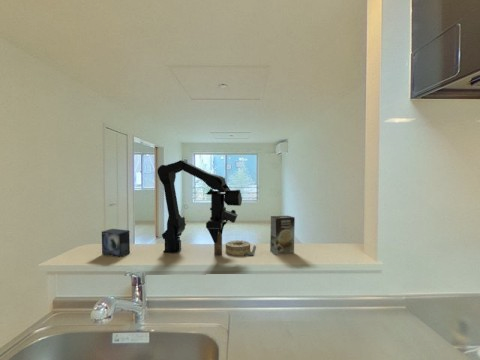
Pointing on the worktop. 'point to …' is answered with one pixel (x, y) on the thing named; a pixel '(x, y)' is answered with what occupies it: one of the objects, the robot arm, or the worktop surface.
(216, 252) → the brown cylinder
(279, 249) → the coffee box
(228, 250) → the bead
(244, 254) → the gray l-shaped bar
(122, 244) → the small box
